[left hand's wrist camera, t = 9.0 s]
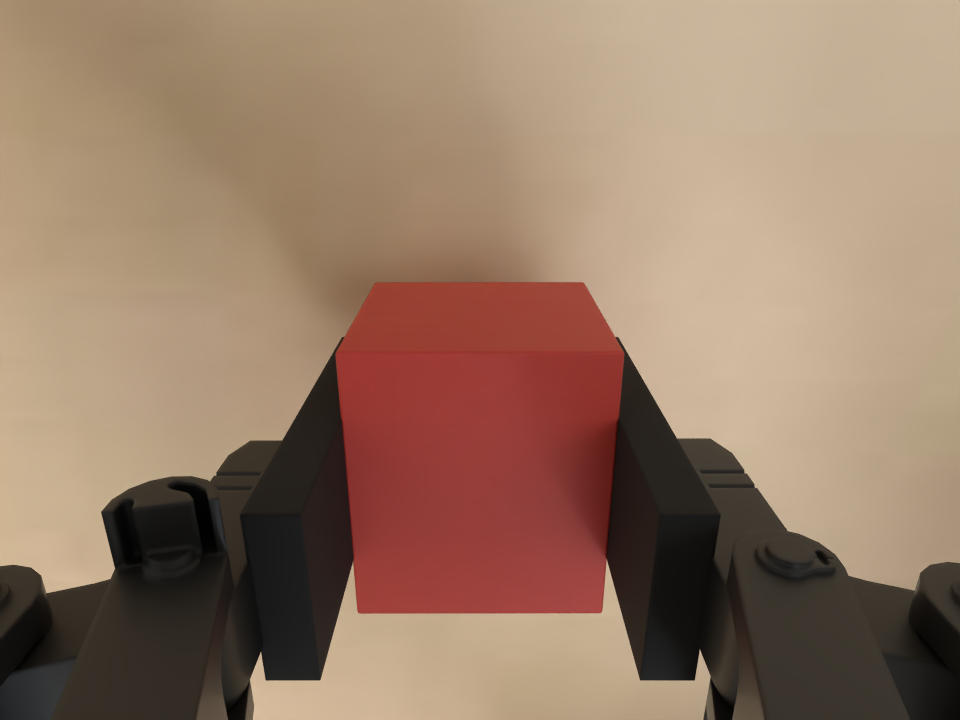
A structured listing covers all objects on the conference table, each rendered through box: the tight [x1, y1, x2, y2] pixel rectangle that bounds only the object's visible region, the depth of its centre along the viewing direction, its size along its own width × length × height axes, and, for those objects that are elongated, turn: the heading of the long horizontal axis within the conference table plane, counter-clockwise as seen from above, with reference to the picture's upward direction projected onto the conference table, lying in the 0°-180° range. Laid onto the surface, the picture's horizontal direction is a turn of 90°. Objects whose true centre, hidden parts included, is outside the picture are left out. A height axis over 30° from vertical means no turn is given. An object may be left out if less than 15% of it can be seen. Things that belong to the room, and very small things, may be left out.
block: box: [336, 282, 624, 613], centre depth 13 cm, size 5×4×4 cm
